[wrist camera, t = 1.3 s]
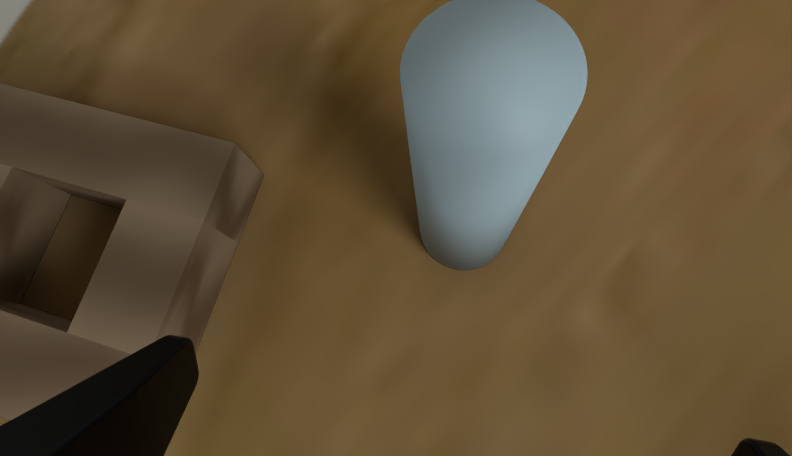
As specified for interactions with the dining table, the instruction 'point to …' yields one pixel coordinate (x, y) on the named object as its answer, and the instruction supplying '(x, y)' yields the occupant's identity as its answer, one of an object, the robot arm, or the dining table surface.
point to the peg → (485, 118)
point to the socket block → (129, 241)
